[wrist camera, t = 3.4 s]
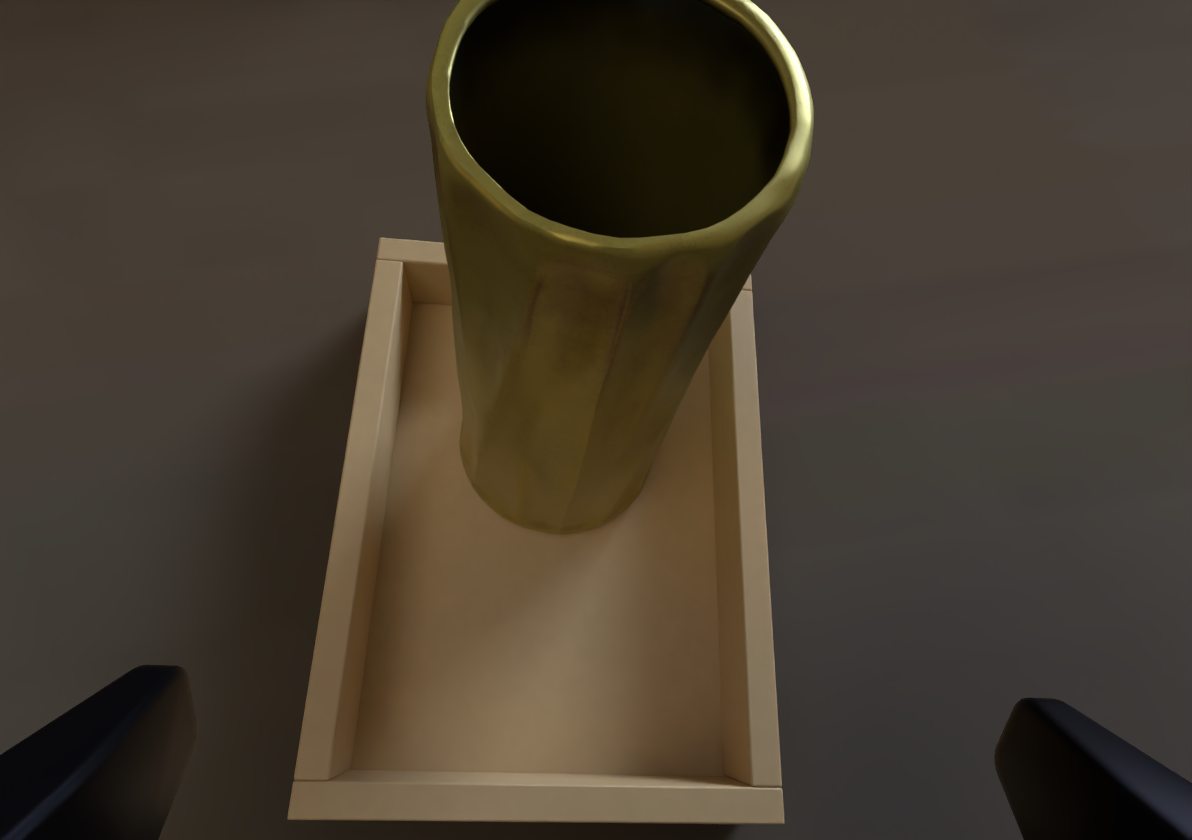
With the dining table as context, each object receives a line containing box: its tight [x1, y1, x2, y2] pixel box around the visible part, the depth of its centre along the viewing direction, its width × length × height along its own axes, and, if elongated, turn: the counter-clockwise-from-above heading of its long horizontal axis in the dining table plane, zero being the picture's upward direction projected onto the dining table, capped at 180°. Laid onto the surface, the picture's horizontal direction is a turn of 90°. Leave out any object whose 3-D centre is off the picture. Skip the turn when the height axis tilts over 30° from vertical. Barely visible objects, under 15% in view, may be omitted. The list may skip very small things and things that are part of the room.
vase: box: [426, 0, 814, 534], centre depth 16 cm, size 6×6×14 cm
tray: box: [288, 238, 784, 825], centre depth 21 cm, size 16×12×3 cm
